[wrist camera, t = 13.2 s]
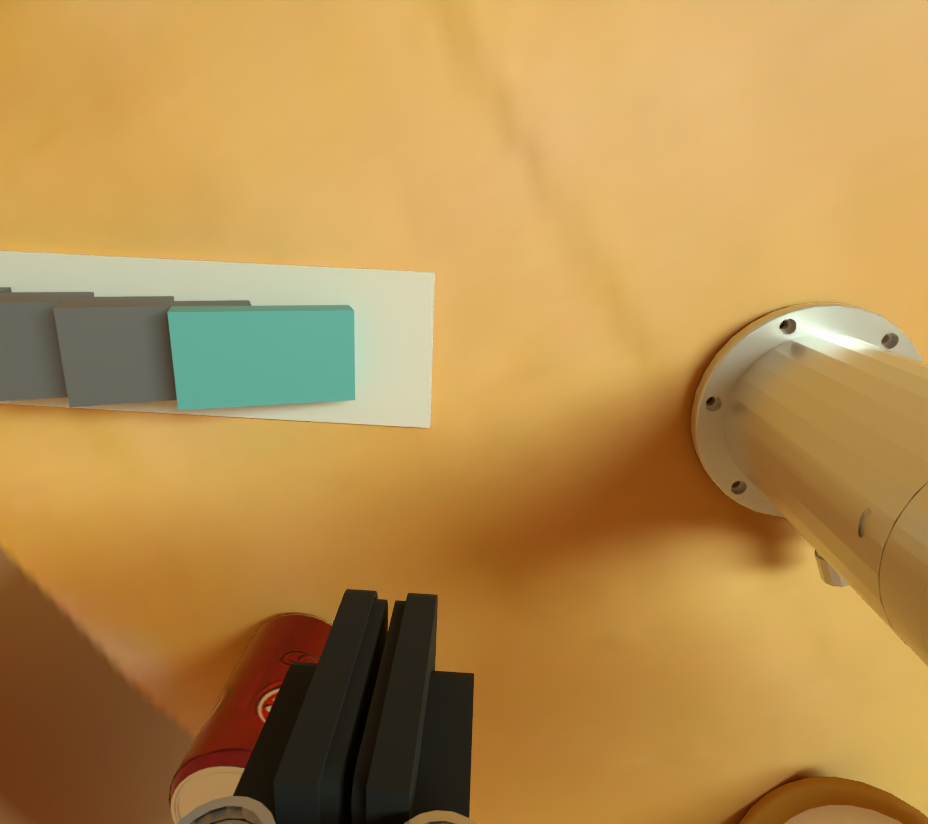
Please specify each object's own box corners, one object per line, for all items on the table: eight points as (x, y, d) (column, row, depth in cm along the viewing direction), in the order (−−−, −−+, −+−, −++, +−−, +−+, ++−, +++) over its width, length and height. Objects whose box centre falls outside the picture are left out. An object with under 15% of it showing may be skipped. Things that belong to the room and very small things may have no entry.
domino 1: (172, 301, 33) (-34, 303, 30) (181, 390, 34) (-13, 401, 31) (173, 296, 34) (-22, 297, 31) (182, 381, 36) (-2, 391, 33)
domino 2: (251, 305, 33) (53, 308, 29) (257, 394, 34) (69, 407, 31) (248, 300, 34) (60, 302, 31) (254, 386, 36) (75, 397, 32)
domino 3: (354, 310, 32) (167, 312, 30) (355, 400, 34) (178, 410, 31) (348, 304, 34) (171, 306, 31) (350, 390, 36) (181, 399, 33)
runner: (434, 272, 34) (434, 272, 33) (430, 426, 36) (429, 428, 36) (-99, 245, 34) (-104, 245, 34) (-63, 398, 37) (-67, 400, 37)
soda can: (336, 598, 41) (275, 750, 29) (369, 684, 43) (326, 857, 31) (235, 620, 42) (139, 775, 30) (273, 703, 44) (197, 878, 32)
